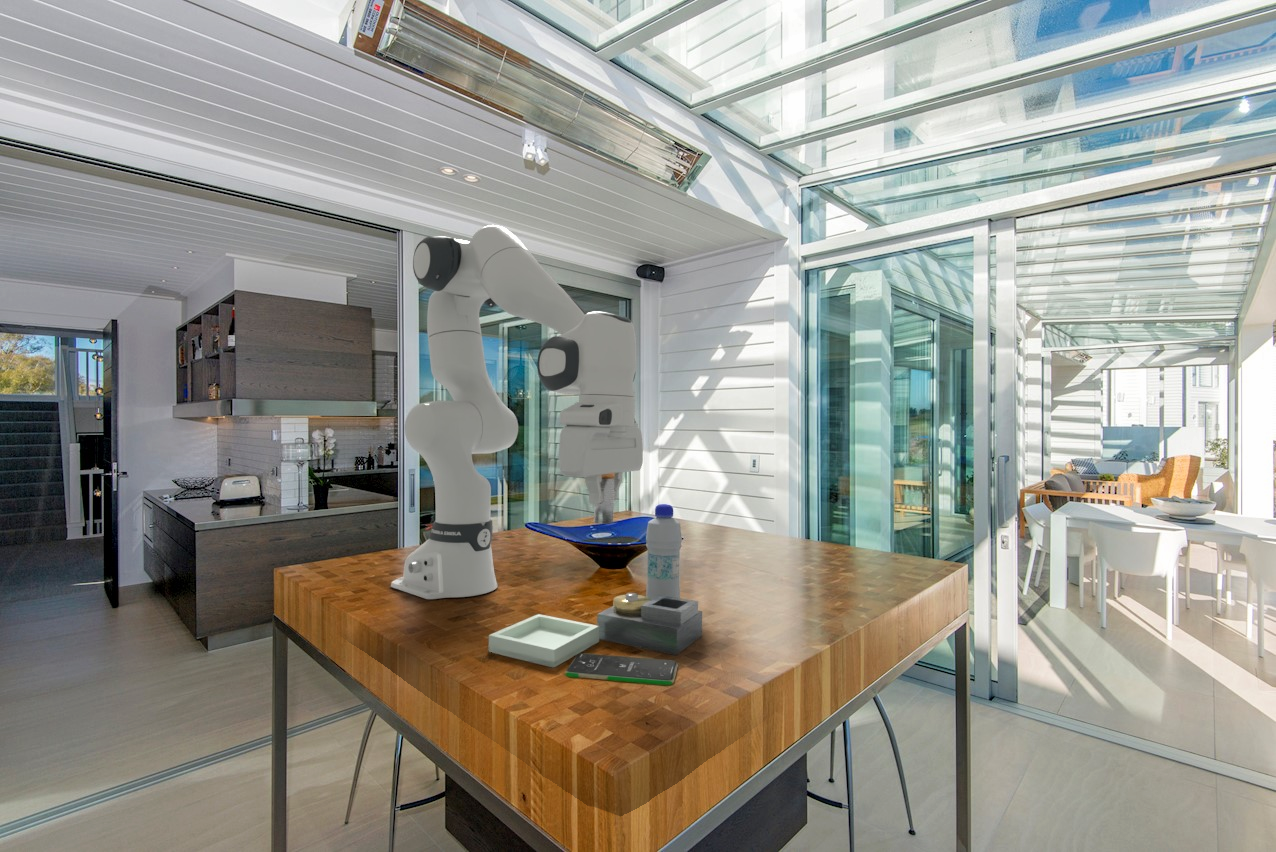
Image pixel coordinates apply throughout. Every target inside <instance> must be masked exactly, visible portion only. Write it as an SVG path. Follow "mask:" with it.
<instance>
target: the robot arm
mask: <svg viewBox="0 0 1276 852" xmlns="http://www.w3.org/2000/svg"><path fill="white" fill-rule="evenodd" d="M416 245H417V246H416V247H415V250H414V252H413V253H414V254H413V259H412V260H413V261H412V268H413V273H414V277H415V278H416V280H417V282H418V283H419V284H420V285H421V286H423V287H425V288H427V289H429V290H432V291H433V292H432V293H431V295H430V296H429V298H428V303H427V316H426V317H427V319H426V326H427V327H426V329H427V331H426V332H427V341H428V353H429V360H430V361H429V362H430V372H431V375H432V377H433V378H434V380H435V381H436V382H437V383H438V384H439V385H441V386H442V387H444V388H445V389H446V391H447V392H448V393H449V395H450V396H451V398H452V400H441V399H440V400H433V401H426V402H421V403H417V404H416V405H414V406H413V407H412V408H410V410H409V412H408V413H407V415H406V418H405V421H404V434H405V438H406V440H407V443H408V444H409V445H410V447H411V448H412V449H413V450H414V451H416V452H417V453H418V454H419V455H420V456H421V457H422V458H423V460H424V461H425V462H426V465H427V466H428V468H429V470H430V473H431V475H432V479H433V483H434V493H435V494H434V496H435V497H434V498H435V520H434V521H433V523H428V524H425V526H426V527H427V528H425V531H429V530H430V532H429V535H428V539H427V540H426V541H424V542H423V543H422V544H421V545H420V546H419V547H417V548H416V549H415V550H414V551H412V552H411V553H410V554H408V556H407V557H406V559H405V561H404V564H403V576H401V577H398V578H396V579H394V580H392V581H391V583H390V588H393V589H396V590H399V591H401V592H405V593H408V594H410V595H413V596H417V597H420V598H422V599H425V600H437V599H445V598H448V599H449V598H465V597H474V596H480V595H483V594H487V593H490V592H493V591H494V590H496V589H497V588H498V583H497V579H496V575H495V574H496V573H495V568H494V561H493V551H492V550H493V549H492V544H491V543H492V539H493V535H494V534H493V530H494V526H493V520H492V519H491V514H492V512H491V510H492V507H491V503H492V492H491V491H492V487H491V484H490V481H489V479H487V478H486V476H484V475H482V474H481V473H479V472H478V470H477V469H476V467H475V465H474V462H473V455H477V454H478V455H480V454H481V455H483V454H493V453H497V452H500V451H503V450H506V449H508V448H510V447H511V446H513V445H514V444H515V441H516V440H517V437H518V434H519V423H518V418H517V416H516V415H515V413H514V412H513V411H512V410H511V409H510V408H508V407H507V405H505V403H504V402H503V401H502V400H501V398H500V397H499V395H498V393H497V391H496V389H495V388H494V386H493V383H492V381H491V379H490V377H489V373H488V369H487V365H486V360H485V359H486V358H485V351H484V343H483V335H482V328H481V321H480V311H481V308H482V306H483V305H484V304H485V305H486V306H487V307H489V308H493V307H495V306H498V307H499V308H500V309H501V310H503V311H504V312H505V313H507V314H509V315H512V316H514V317H518V318H520V319H523V320H528V321H531V322H534V323H538V324H539V325H543V326H546V327H548V328H549V329H552V330H554V331H556V332H557V333H558V334H560V335H558V336H557V335H556V336H552V337H550V338H548V340H546V341H545V342H544V343H543V345H542V346H541V348H540V350H539V352H538V355H537V365H536V367H537V375H538V378H539V380H540V381H541V383H542V385H543V387H545V388H546V389H547V390H549V391H551V392H555V393H557V394H563V395H564V394H565V395H566V394H567V395H574V396H575V395H576V396H578V402H577V401H576V402H575V403H573V404H572V405H571V406H568V407H566V408H564V409H563V410H561V411H560V412H559V423H560V425H562V426H563V427H562V429H561V430H560V435H559V445H558V446H559V447H558V467H559V470H560V472H561V474H562V476H564V477H568V478H584V484H585V486H586V488H587V491H588V495H589V497H588V502H589V504H590V505H594V506H595V505H598V504H602V503H603V502H604V499H603V498H604V493H603V492H601V488H600V483H599V482H601V480H602V475H605V474H612V473H615V480H614V502H615V501H616V502H617V501H618V497H619V496H618V495H619V493H618V492H619V488H620V486H621V484H622V481H623V473H628V472H636V471H641V468H642V466H643V461H644V454H643V451H644V450H643V437H642V436H643V434H642V431H641V429H640V428H639V423H637V421H636V419H635V414H636V413H635V412H636V411H635V409H636V408H635V407H636V405H635V404H636V403H635V402H636V392H635V389H634V388H635V387H634V381H635V379H636V373H637V355H638V354H637V337H636V331H635V330H636V329H635V327H634V324H633V321H632V320H631V319H630V318H628V317H627V316H624V315H619V314H616V313H610V312H607V311H600V310H599V311H596V310H594V311H590V312H586V310H585V309H584V308H583V307H582V306H581V305H580V304H579V303H578V302H577V301H576V300H575V299H574V298H573V297H572V296H571V295H570V294H569V293H568V292H567V291H565V290H564V288H563V287H561V285H559V284H558V283H557V281H556V280H554V279H553V278H552V277H551V275H550V274H549V273H548V272H547V271H546V270H545V269H544V267H542V265H541V264H540V262H538V260H537V259H536V258H535V257H534V255H533V253H531V251H530V250H529V249H528V248H527V246H526V244H524V243H523V241H521V240H520V239H519V238H518V237H517V236H516V235H515V234H514V233H513V232H511V231H510V230H509V229H507V228H506V227H503V226H500V225H494V224H492V225H486V226H483V227H482V228H480V229H478V230H477V231H475V233H474V234H473V235H472V237H471V239H470V241H468V240H463V239H458V238H457V239H456V238H454V237H451V236H450V237H449V236H445V235H444V236H443V235H438V236H437V235H434V236H427V237H424V238H423V239H422V240H420V242H419V243H418V244H416Z"/></svg>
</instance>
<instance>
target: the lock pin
mask: <svg viewBox="0 0 1276 852" xmlns="http://www.w3.org/2000/svg"><path fill="white" fill-rule="evenodd" d="M614 480H615V473H612V474H605V475H602V480H601V482H599V483H600V488H601V492H603V493H604V498H603V499H604V502H603V503H602V504H598V505H595V504H594V510H593V511H594V512H593V517H594V518H593V522H594V523H595V524H602V525H603V524H604V525H606V524H608V525H609V524H613V523H614V510H615V509H614V502H615V501H614Z"/></svg>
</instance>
